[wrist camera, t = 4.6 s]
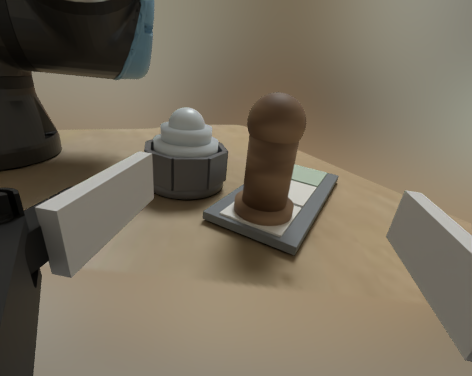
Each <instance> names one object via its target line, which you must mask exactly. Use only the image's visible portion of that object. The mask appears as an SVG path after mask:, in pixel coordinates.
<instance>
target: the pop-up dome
mask: <svg viewBox="0 0 472 376" xmlns="http://www.w3.org/2000/svg"><path fill="white" fill-rule="evenodd" d="M153 143H154V151H155V152H158V153H162V154H165V155H168V156H172V157H209V156H211V155H214V154H217V153H218V140H217V139H216V138H214V137H212V127H211V126H209V125H206V124H205V122H204V119H203V117H202V116H201V114H200V113H199V112H197V111H196V110H194V109H192V108H188V107H185V108H180V109H178V110H176V111H175V112H173V114H172V115H171V117H170V119H169V122H165V123H162V124H161V134H159V135H156V136H155V137H154V138H153Z"/></svg>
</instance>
